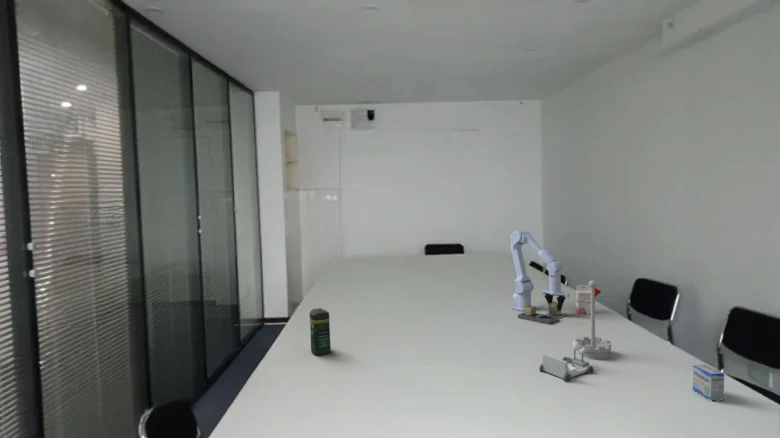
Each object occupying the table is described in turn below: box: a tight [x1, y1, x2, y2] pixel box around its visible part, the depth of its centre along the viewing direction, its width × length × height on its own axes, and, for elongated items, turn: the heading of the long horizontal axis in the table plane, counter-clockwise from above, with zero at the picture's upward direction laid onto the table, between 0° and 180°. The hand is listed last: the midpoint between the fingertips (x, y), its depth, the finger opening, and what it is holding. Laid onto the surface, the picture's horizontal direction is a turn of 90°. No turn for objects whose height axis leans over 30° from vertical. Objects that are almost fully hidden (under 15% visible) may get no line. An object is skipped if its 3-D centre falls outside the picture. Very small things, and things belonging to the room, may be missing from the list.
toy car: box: [538, 340, 595, 383], centre depth 169 cm, size 18×10×12 cm
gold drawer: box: [523, 304, 537, 317], centre depth 240 cm, size 4×5×6 cm
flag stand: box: [575, 280, 612, 360], centre depth 185 cm, size 13×13×30 cm
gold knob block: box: [548, 301, 562, 316], centre depth 242 cm, size 4×5×6 cm
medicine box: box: [692, 364, 725, 401], centre depth 146 cm, size 8×4×9 cm, turn 5°
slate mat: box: [544, 312, 568, 320], centre depth 242 cm, size 9×9×1 cm
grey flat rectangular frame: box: [517, 312, 560, 325], centre depth 237 cm, size 18×9×2 cm, turn 42°
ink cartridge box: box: [575, 284, 591, 315], centre depth 245 cm, size 9×5×15 cm, turn 84°
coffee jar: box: [309, 307, 332, 355], centre depth 199 cm, size 10×8×19 cm
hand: (555, 309), depth 242 cm, fingers closed on gold knob block, 4 cm apart
